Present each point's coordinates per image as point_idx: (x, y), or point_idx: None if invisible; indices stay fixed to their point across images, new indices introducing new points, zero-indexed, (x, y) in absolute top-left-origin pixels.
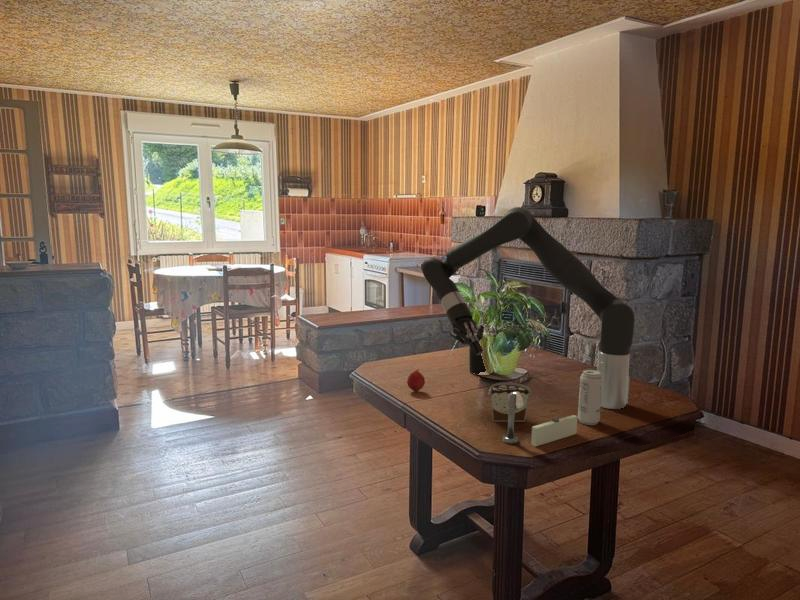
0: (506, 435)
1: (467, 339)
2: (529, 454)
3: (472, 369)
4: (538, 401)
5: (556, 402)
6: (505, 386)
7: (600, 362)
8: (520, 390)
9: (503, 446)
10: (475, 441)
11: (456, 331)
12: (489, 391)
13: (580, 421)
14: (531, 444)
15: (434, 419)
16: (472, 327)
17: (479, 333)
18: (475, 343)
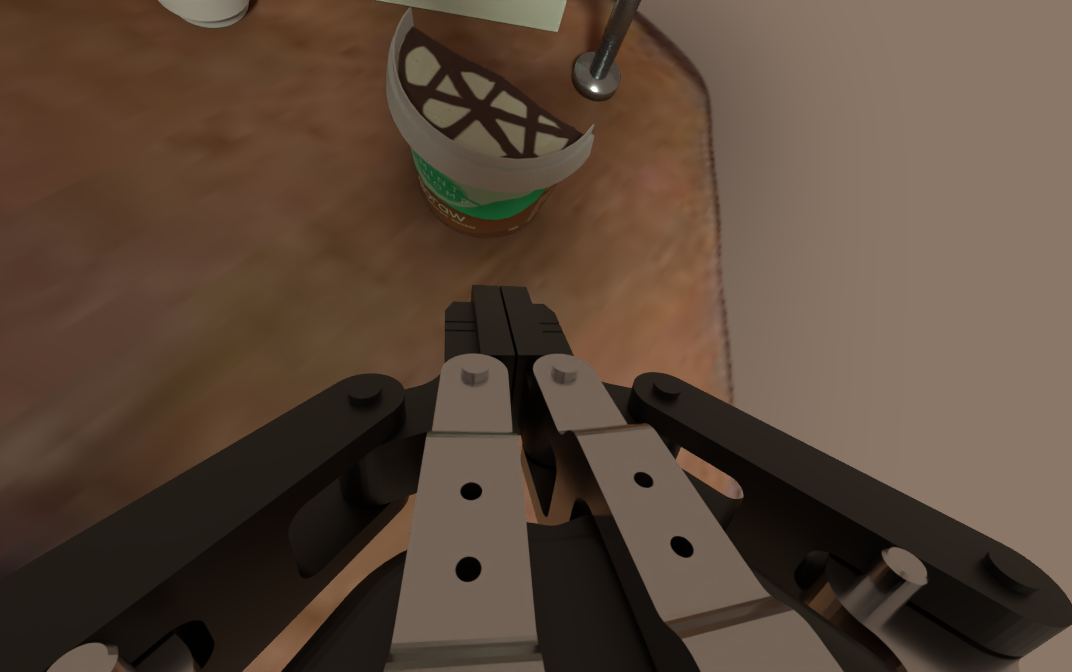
0: (599, 86)
1: (672, 384)
2: (603, 6)
3: None
4: (151, 258)
5: (78, 198)
6: (466, 138)
7: None
8: (445, 54)
9: (634, 73)
10: (684, 139)
11: (951, 539)
12: (590, 143)
13: (242, 12)
14: (557, 29)
15: (713, 343)
16: (486, 607)
17: (316, 469)
18: (535, 340)
